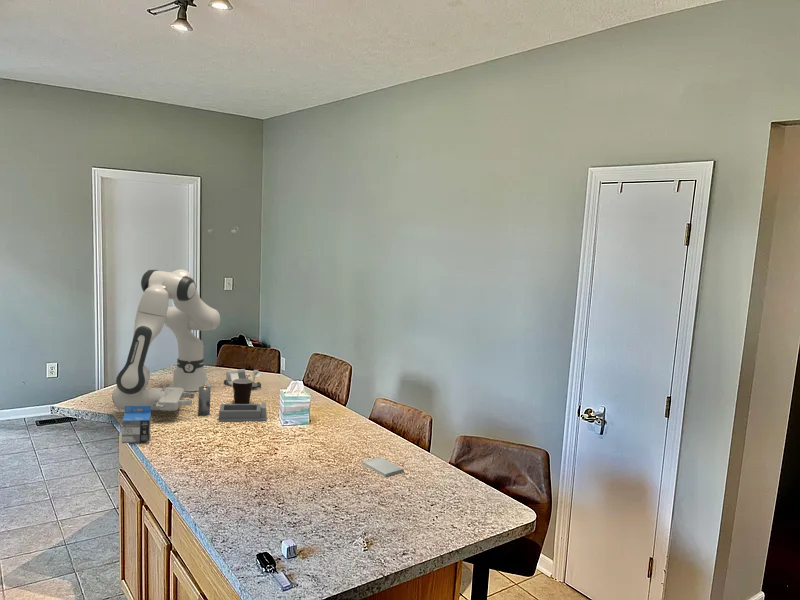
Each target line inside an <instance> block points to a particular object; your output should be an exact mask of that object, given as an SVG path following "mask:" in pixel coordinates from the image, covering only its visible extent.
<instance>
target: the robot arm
mask: <svg viewBox="0 0 800 600" xmlns="http://www.w3.org/2000/svg"><path fill="white" fill-rule="evenodd" d="M140 287H141V289H142V291H143V293H142V294H141V295H142V296H141V298H140V300H139V303H138V307H137V310H136V315H135V319H134V328H133V336H132V342H131V345H130V349H129V353H128V355H127V360H126V361H125V365H124V367H123V368H122V369H121V370H120V371H119V372H118V374H117V376H116V378H115V379H116V380H115V384H116V388H115V389H114V390H113V391H112V396H111V398H112V404H113V406H114V407H115V408H116V409H118V410H123V411H125V406H151V411H169V412H170V411H173V412H174V411H177V410H179V407H186V406H192V404H193V400H192V399H195V396H196V395H195V392H199V387H202V386H203V385H207V386H208V387H211V383H210V382H209V379H208V377H207V372H208V371H207V370H206V369H205V367H204V366H205V360H204V359H205V358H204V342H203V340H201V339H200V338H199V337H197V336H196V335H194V334H193V331H212V330H213V331H214V330H216V329H217V328H218V327H219V326H220V323H221V315H220V313H219V311H218V309H215V308H213V307H211V306H210V305H208V304H207V303H205V301H203V300H202V298H201V297H200V295H199V292H198V289H197V285H196V281H195V280H194V278H193V277H192V275H191V273H190V272H189V271H188V270H185V269H182V268H181V269H175V270H174V271H163V270H159V269H148V270H147V271H146V272H144V273H143V275H142V277H141V281H140ZM169 300H172V302H173V306H172V305H171V306H169V302H170V301H169ZM164 324H165V325H166V327H168V329H170V330H171V332H172V333H173V335H174V336H175V338H176V340H177V348H178V349H177V350H178V352H177V354H178V357H177V359H176V368H175V369H174V370H173V374H172V383H170V384H169V385H168V386H165V385H159V386H157V387H149V386H148V385H149V381H150V378H151V374H150V369H148V367H147V366H145V363H146V359H147V355H148V352H149V349H150V346H151V344H152V343H153V341H154V340H155V339H156V337H158V335H159V334H160V333H161V332H162V329H163V327H164ZM211 388H212V387H211ZM185 398H188V399H185ZM183 399H185V400H183ZM134 411H140V409H139V408H137V409H134Z"/></svg>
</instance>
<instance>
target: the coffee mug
mask: <svg viewBox="0 0 800 600" xmlns="http://www.w3.org/2000/svg"><path fill="white" fill-rule="evenodd" d="M253 381H254V380H253V379H250V378H248V379H235V380H233V386H232V390H233V402H234V403H233V404H250V401H251V395H252V388H253V387H252V383H253Z"/></svg>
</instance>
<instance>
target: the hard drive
mask: <svg viewBox="0 0 800 600" xmlns="http://www.w3.org/2000/svg"><path fill="white" fill-rule="evenodd" d="M361 462H362V464H361V465H363V466H364V465H365V467H366V468H368V469H370V470H371V469H372V471H373V470H374V472H375V473H377V474H379V475H380V474H381V476H382V477H384V478H387V477H390V476H393V475H394V476H395V475H397V474H402V473H404V472H405V469H404V468H402V467H400V466H398V465H396V464H394V463H393V462H391V461H389V460H387V459H385V458H383V457H381V456H379V457H378V456H377V457H375V458H371V459H367V460H363V461H361Z"/></svg>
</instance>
